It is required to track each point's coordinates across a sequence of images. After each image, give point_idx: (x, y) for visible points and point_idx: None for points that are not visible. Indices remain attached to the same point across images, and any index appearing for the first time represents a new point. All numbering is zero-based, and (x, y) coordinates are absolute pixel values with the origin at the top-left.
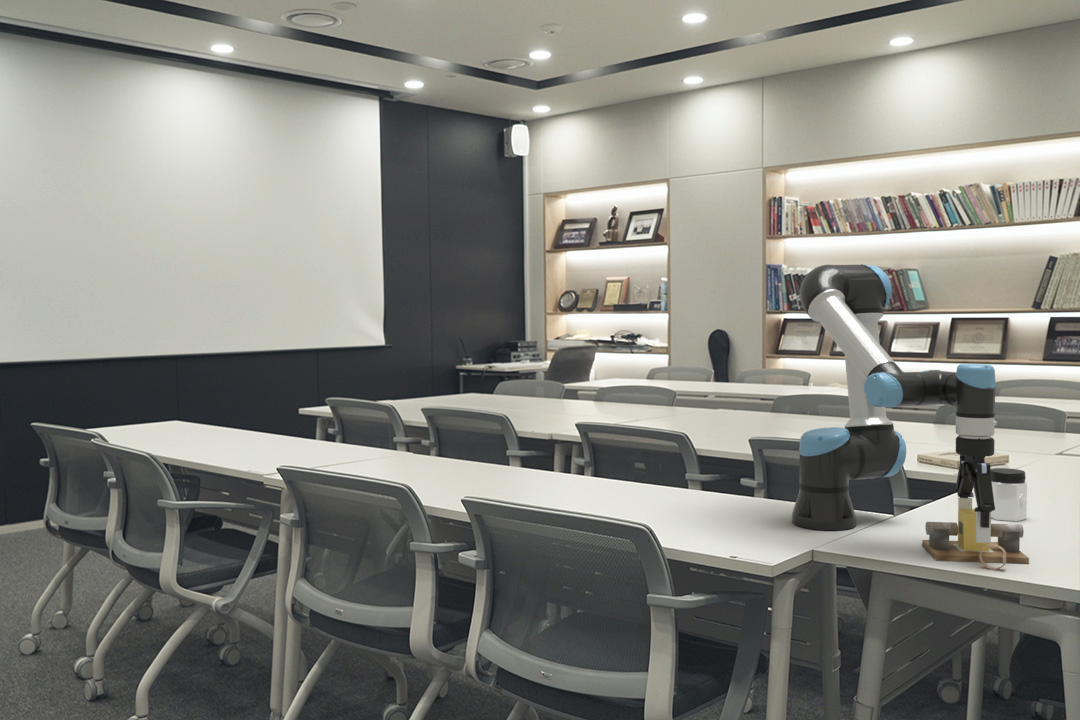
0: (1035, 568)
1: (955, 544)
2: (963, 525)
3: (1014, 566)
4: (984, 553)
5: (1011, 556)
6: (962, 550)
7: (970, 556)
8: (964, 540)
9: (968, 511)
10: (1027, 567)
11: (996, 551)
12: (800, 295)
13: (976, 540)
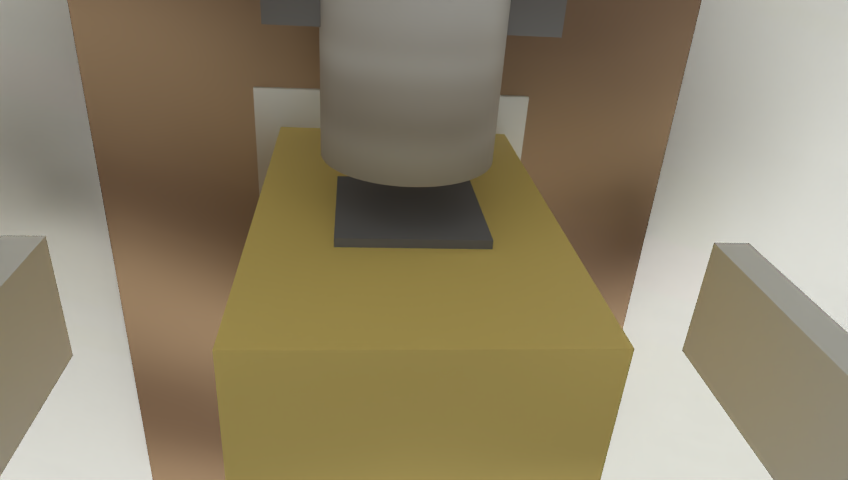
0: (50, 473)
1: (510, 114)
2: (290, 238)
3: (61, 379)
4: (219, 267)
5: (170, 418)
6: (275, 112)
7: (90, 127)
8: (269, 166)
9: (387, 434)
10: (61, 441)
11: None
12: None
13: (4, 245)
